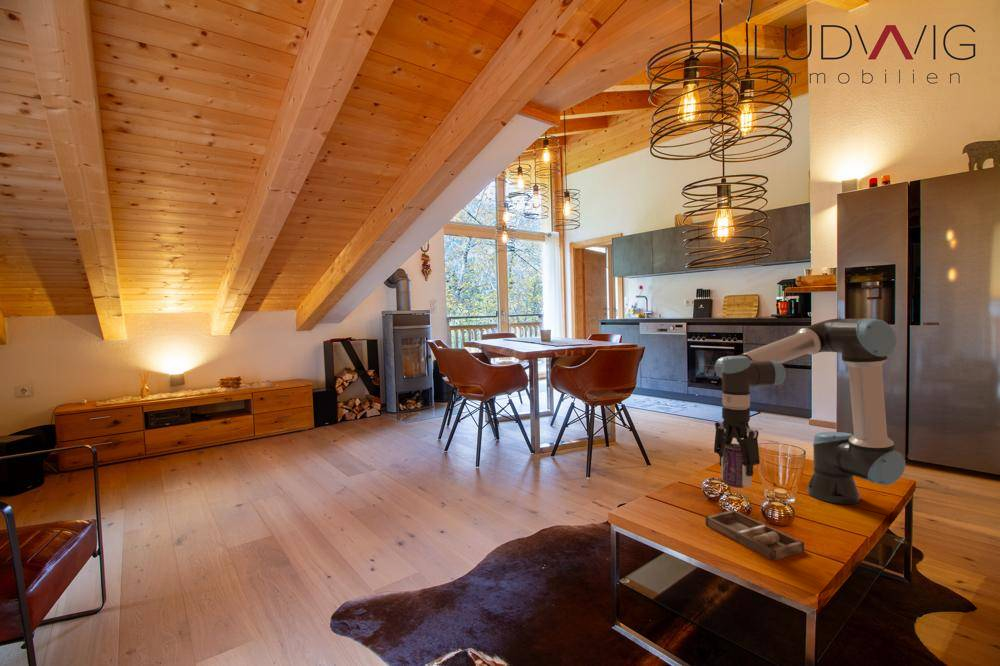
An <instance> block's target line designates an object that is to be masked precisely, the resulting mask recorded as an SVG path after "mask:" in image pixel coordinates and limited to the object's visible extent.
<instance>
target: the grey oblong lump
mask: <svg viewBox="0 0 1000 666" xmlns="http://www.w3.org/2000/svg"><path fill="white" fill-rule="evenodd" d="M753 539H754V540H756V541H758V542H760V543H762V544H764V545H766V546H767V545H771V544H774V543H777V542H779V541H780V537H779V535H778V534H777V533H776V532H774V531H772V532H768V533H765V534H761V535H758V536H754V537H753Z"/></svg>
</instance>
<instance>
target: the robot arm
mask: <svg viewBox="0 0 1000 666" xmlns="http://www.w3.org/2000/svg"><path fill="white" fill-rule="evenodd" d="M895 347H897V335H896V332H895V331H894V329H893V327H892V326H891V325H890V324H888V322H887V321H884V320H883V319H879V318H878V319H877V318H876V319H873V318H867V317H866V318H831V319H827V320H823V321H820V322H817V323H814V324H811V325H808V326H805V327H802V328H800V329H798V330H797V332H796V333H795V334H792V335H790V336H787V337H784V338H782V339H781V338H780V339H779V340H776V341H774V342H769V343H768V344H765V345H763V346H760V347H757V348H755V349H752V350H749V351H746V352H743V353H741V354H738V355H727V356H722V357H720V358H718V359H717V360H716V362H715V365H714V372H715V374H716V376H717V377H719V378H721V394H722V395H721V401H722V402H721V403H722V405H721V406H722V408H721V418H722V419H723V421H718V422H717V421H715V423H714V426H715V427H714V428H715V434H714V435H715V436H714V446H713V452H714V453H715V454H718V457H719V466H720V469H721V470H720V473H721V474H720V478H721V479H723V450H724V448H725V444H731V443H732V444H733V439H736V443H737V444H739V445H740V449H741V452H742V455H743V459H744V462H745V464H743V465H742V486H743V487H744V488H748V487H752V477H753V476H754V466H757V465H760V463H761V461H760V460H761V459H760V453H759V452H760V451H759V442H758V441H759V440H758V438H759V437H758V436H759V431H758V430H754V429H752V428H750V425H749V422H750V419H751V410H750V407H751V388H753V387H769V386H770V387H773V386H779V385H781V384H783V383H784V382H785V380H786V377H787V371H786V368H785V366H784V365H783V364H784V363H785V362H788V361H791V360H794V359H797V358H799V357H801V356H804V355H816V354H819V353H826V352H827V353H838V354H840V353H841V361H842V362H843V363H845V364H846V365H847V366H848V367H847V368H848V379H849V380H848V381H849V390H850V391H849V393H850V403H851V404H850V405H851V414H852V427H853V428H852V429H853V434H852V433H850V432H849V433H848V432H841V431H840V432H839V431H822V432H818V433H816V434H815V435H814V437H813V443H812V447H813V473H812V475H811V477H810V480H809V483H808V484H807V493H808V495H810V496H811V497H813V498H815V499H817V500H820V501H823V502H827V503H832V504H839V505H856V504H859V503H860V499H861V497H860V496H861V495H860V492H859V490H858V487H857V486H858V485H857V484H856V481H855V479H854V477H857V478H860V479H863V480H866V481H868V482H870V483H873V484H878V485H882V486H890V485H893V484H894V483H896V482H897V481H899V480H900V478H901V477H902V476H903V474H904V472H905V469H906V459H905V457H904V455H903V454H902V453H901V452H899V451H897V450H895V443H894V441H893V440H892V439H891V438H890V437H889V436H888V430H887V428H888V427H887V416H886V414H887V413H886V405H885V404H886V403H885V391H884V390H885V389H884V379H883V364H884V363H886V362H887V361H888V356H890V355H892V353H893V352H894V351H895Z"/></svg>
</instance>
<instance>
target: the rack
mask: <svg viewBox="0 0 1000 666" xmlns="http://www.w3.org/2000/svg"><path fill="white" fill-rule="evenodd" d="M705 526H707V527H709V528H711V529H713V530H715V531H716V532H718V533H720V534H722V535H724V536H725V537H727V538H729V539H732V540H733V541H735V542H737V543H738V544H741V545H742V546H745V547H746V548H748V549H750V550H751V551H753V552H756V553H758V554H760V555H761V556H763V557H765V558H767V559H769V560H771V561H773V562H775V561H778V560H782V559H784V558H787V557H791V556H794V555H797V554H800V553H803V552H805V542H804V541H802V540H800V539H798V538H796V537H794V536H791V535H789V534H786V533H784V532H783V531H781V530H778V529H776V528H774V527H771V526H769V525H767V524H765V523H763V522H761V521H758V520H756V519H755V518H753V517H750V516H747V515H745V514H744V513H741V512H739V511H737V510H735V509H733V510H727V511H725V512H720V513H716V514H712V515H708V516H705ZM772 531H774V532H776V533H777V534H778V535H779V537H780V541H779V542H777V543H774V544H771V545H767V546H766V545H764V544H762V543H760V542H758V541H756V540H754V539H753V537H754V536H758V535H761V534H765V533H768V532H772Z"/></svg>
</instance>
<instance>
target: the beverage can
mask: <svg viewBox="0 0 1000 666" xmlns="http://www.w3.org/2000/svg"><path fill="white" fill-rule="evenodd" d="M743 464H745V462H744V459H743V455H742V452H741V449H740V445H739V443H733V442H732V443H731V444H725V448H724V450H723V478H722V481H723V482H722V483H724V484H726V485H727V486H728V487H731V488H734V489H735V488H737V489H742V488H745V487H743V486H742V465H743Z"/></svg>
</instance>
